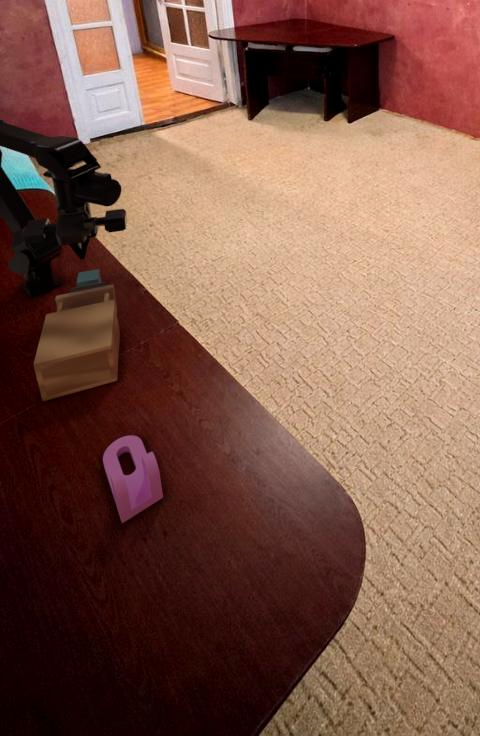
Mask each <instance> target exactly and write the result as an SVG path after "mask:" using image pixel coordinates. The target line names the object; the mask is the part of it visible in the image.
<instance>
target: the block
mask: <svg viewBox="0 0 480 736" xmlns="http://www.w3.org/2000/svg"><path fill="white" fill-rule="evenodd" d="M101 282H102V276H101V272H100V268H97V269H92V270H86V271H80V272H78V274H77V279H76V287H80V286H85V285H90V284H95V283H101Z"/></svg>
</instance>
